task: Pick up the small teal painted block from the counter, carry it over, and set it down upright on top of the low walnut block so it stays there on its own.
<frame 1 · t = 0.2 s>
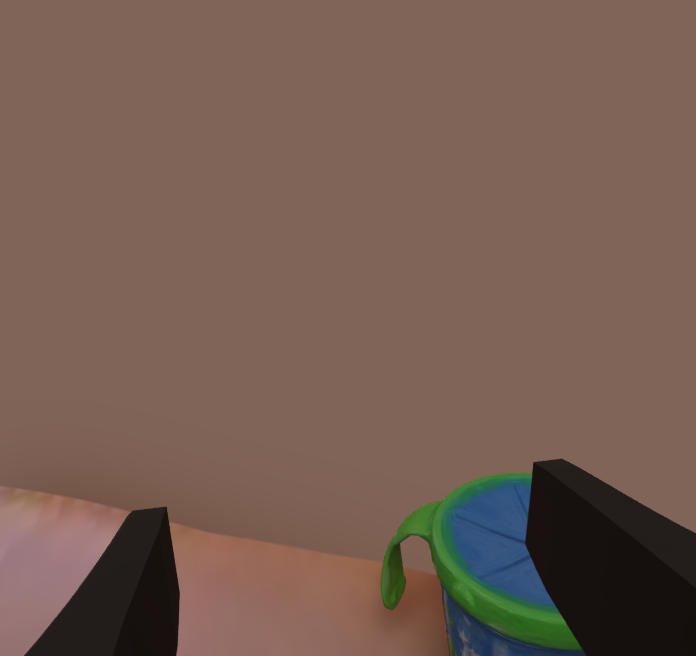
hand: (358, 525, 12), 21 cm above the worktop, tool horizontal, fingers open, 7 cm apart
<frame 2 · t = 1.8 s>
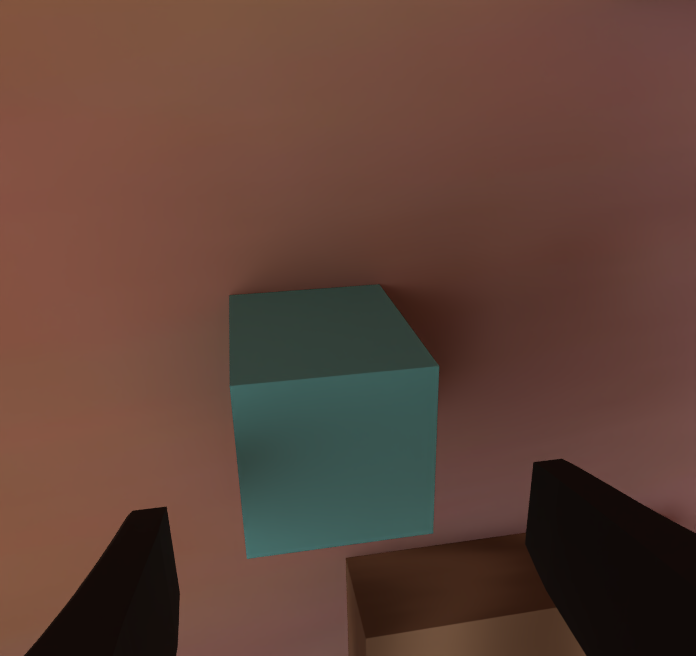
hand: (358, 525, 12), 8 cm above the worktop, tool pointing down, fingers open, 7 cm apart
teal block: (308, 357, 20), on the worktop
walnut base: (489, 646, 26), on the worktop
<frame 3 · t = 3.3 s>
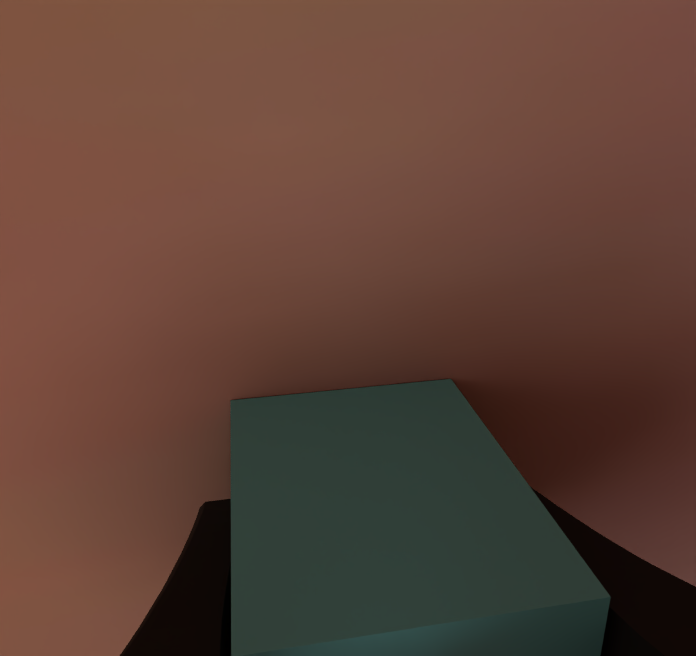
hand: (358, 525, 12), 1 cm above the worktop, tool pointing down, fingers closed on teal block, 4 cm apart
teal block: (346, 482, 14), on the worktop, touching gripper
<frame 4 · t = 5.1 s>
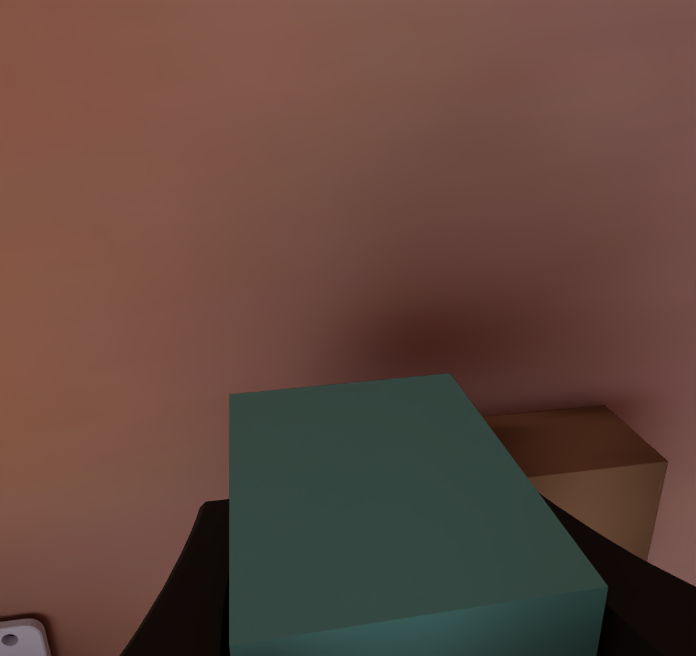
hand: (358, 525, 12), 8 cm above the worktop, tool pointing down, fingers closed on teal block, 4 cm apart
teal block: (344, 477, 14), point 7 cm above the worktop, touching gripper
walnut base: (432, 551, 24), on the worktop
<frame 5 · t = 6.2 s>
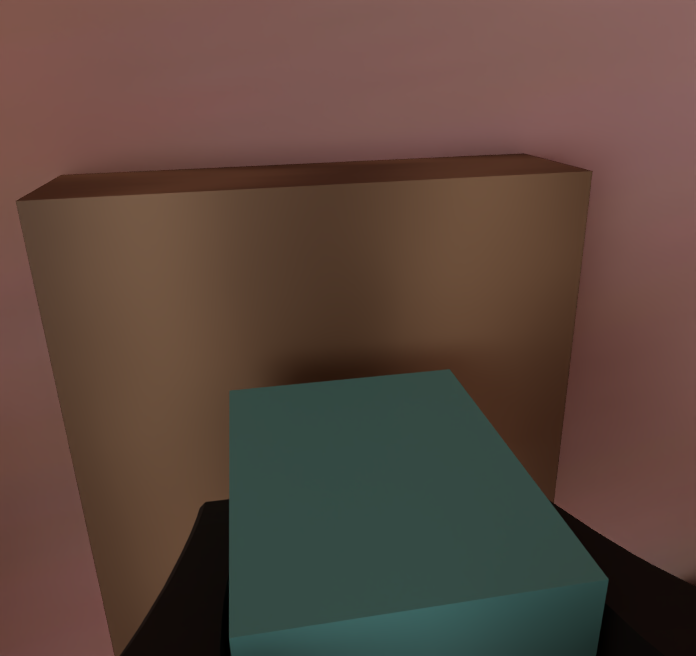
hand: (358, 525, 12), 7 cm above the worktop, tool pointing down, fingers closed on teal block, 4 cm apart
teal block: (345, 473, 14), point 5 cm above the worktop, touching gripper
walnut base: (313, 366, 19), on the worktop
when the fingers open (7 cm above the worktop, at t = 6.9 s): teal block drops 2 cm, point 4 cm above the worktop.
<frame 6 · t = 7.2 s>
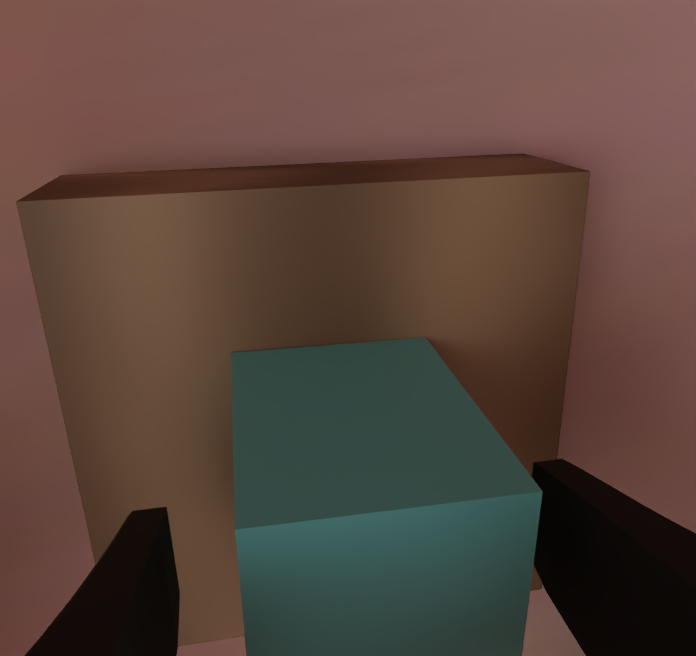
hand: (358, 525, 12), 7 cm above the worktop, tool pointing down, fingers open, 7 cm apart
teal block: (332, 429, 15), point 4 cm above the worktop
walnut base: (312, 365, 19), on the worktop
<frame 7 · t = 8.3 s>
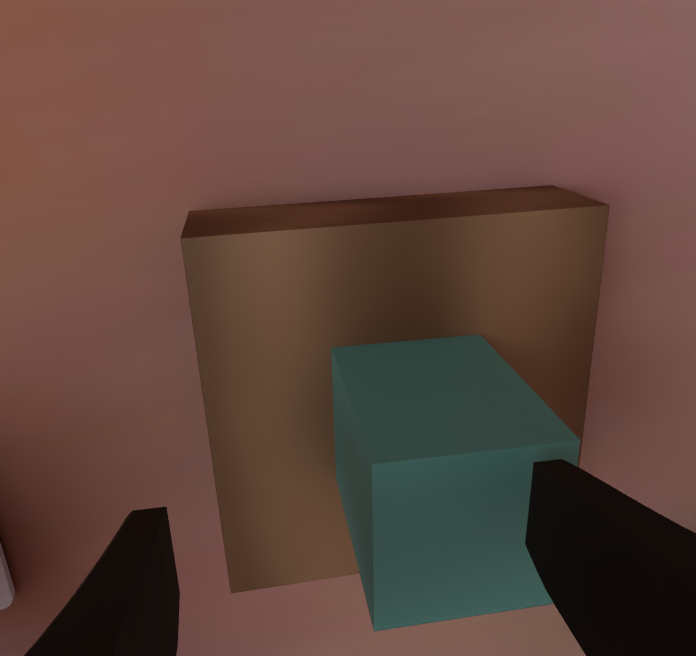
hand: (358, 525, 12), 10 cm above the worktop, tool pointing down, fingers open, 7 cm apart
teal block: (406, 408, 19), point 4 cm above the worktop
walnut base: (378, 359, 23), on the worktop
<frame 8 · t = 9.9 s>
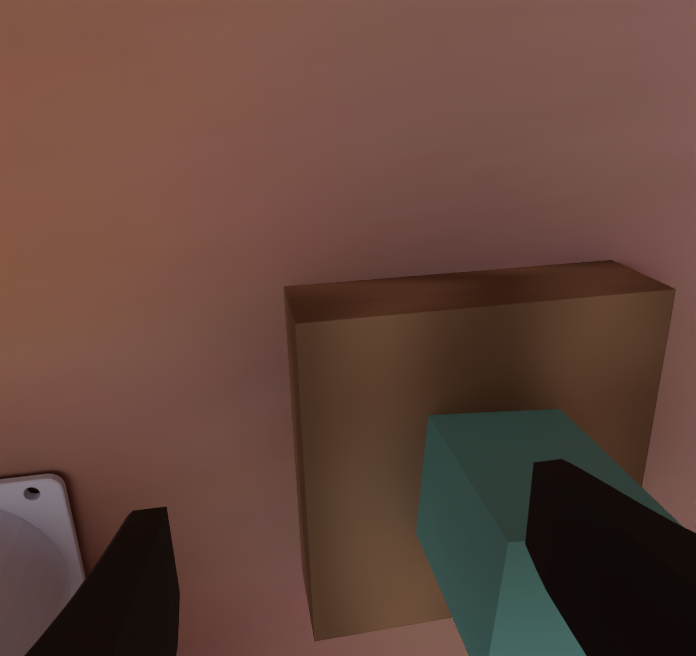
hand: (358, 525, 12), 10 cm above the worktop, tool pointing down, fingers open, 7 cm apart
teal block: (486, 471, 21), point 3 cm above the worktop
walnut base: (445, 417, 25), on the worktop
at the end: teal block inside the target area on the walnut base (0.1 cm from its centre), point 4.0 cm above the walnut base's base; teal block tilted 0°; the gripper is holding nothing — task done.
